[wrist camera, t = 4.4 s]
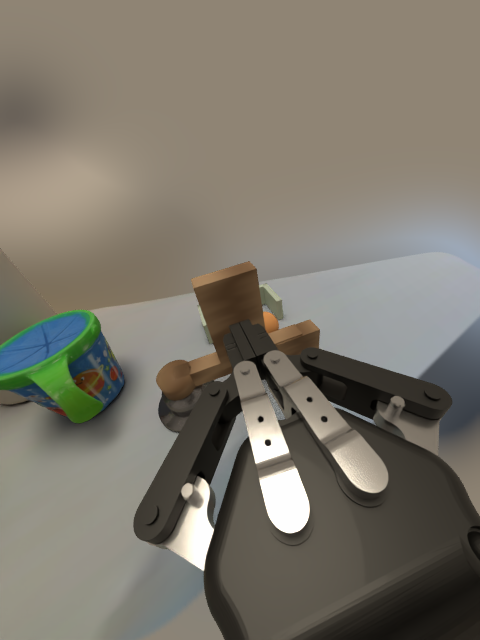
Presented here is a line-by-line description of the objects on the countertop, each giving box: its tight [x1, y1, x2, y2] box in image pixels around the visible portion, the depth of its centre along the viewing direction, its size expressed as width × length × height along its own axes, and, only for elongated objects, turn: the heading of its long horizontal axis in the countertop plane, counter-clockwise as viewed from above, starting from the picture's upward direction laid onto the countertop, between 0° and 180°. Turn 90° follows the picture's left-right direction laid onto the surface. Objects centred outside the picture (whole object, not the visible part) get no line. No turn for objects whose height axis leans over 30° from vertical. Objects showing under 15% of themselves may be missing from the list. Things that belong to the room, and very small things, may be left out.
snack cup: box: [0, 310, 124, 423], centre depth 26 cm, size 16×10×10 cm
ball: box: [263, 312, 279, 333], centre depth 30 cm, size 4×4×4 cm
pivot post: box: [158, 380, 215, 432], centre depth 24 cm, size 7×7×3 cm
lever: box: [156, 261, 320, 400], centre depth 22 cm, size 18×4×14 cm, turn 107°
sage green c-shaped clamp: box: [197, 284, 283, 344], centre depth 34 cm, size 12×6×4 cm, turn 107°
